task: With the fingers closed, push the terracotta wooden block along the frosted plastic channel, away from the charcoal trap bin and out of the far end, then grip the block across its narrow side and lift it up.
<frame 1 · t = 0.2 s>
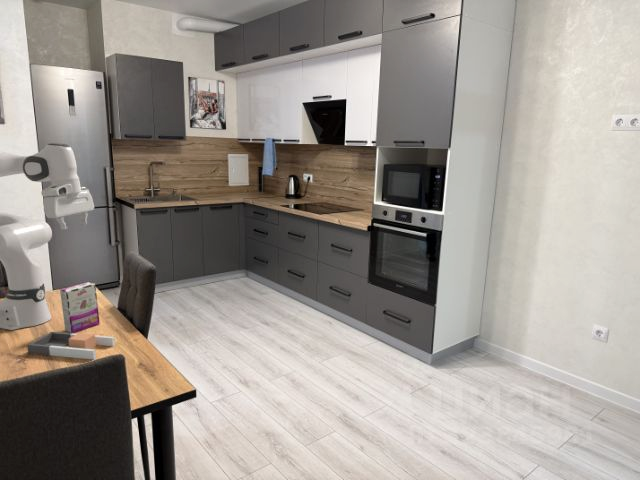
hand: (74, 226, 163), 39 cm above the table, tool pointing down, fingers open, 8 cm apart
candy bar box: (82, 328, 170), on the table
trap bin: (51, 347, 153), on the table
channel: (83, 350, 151), on the table
block: (83, 350, 151), on the table
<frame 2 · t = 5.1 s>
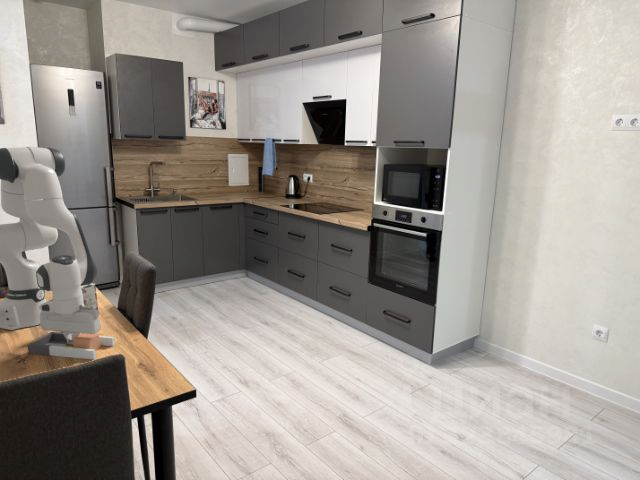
hand: (72, 343, 151), 2 cm above the table, tool pointing down, fingers closed
block: (87, 350, 151), on the table, touching gripper
everything else where it was.
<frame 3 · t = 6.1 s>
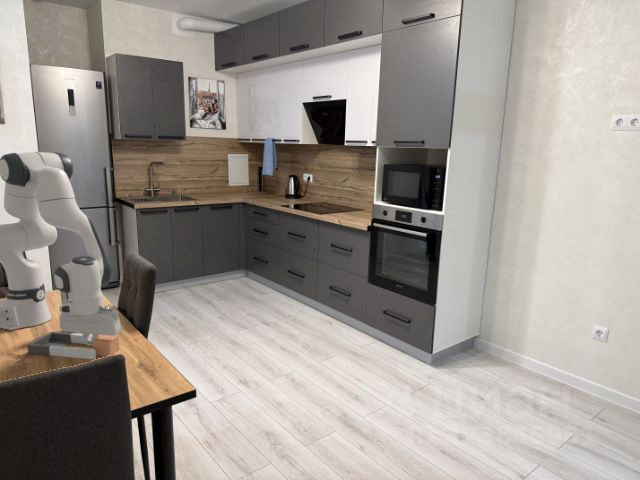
hand: (92, 344, 150), 2 cm above the table, tool pointing down, fingers closed
block: (106, 352, 150), on the table, touching gripper
everything else where it was.
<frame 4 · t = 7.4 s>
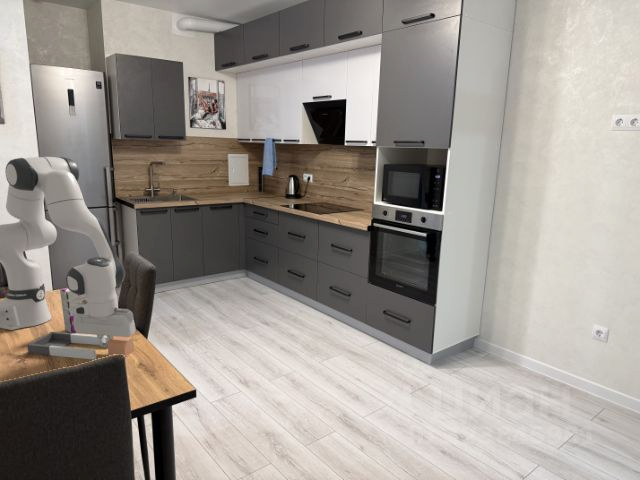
hand: (106, 346, 149), 2 cm above the table, tool pointing down, fingers closed
block: (121, 353, 149), on the table, touching gripper
everything else where it was.
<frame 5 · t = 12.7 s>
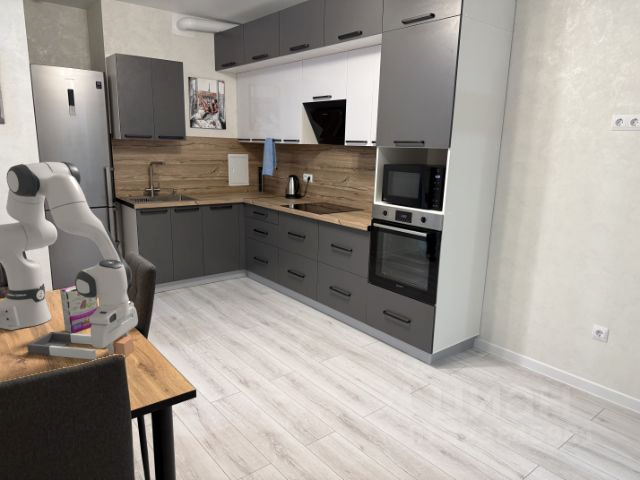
hand: (118, 348, 149), 2 cm above the table, tool pointing down, fingers closed on block, 5 cm apart
block: (121, 353, 149), on the table, touching gripper
everything else where it was.
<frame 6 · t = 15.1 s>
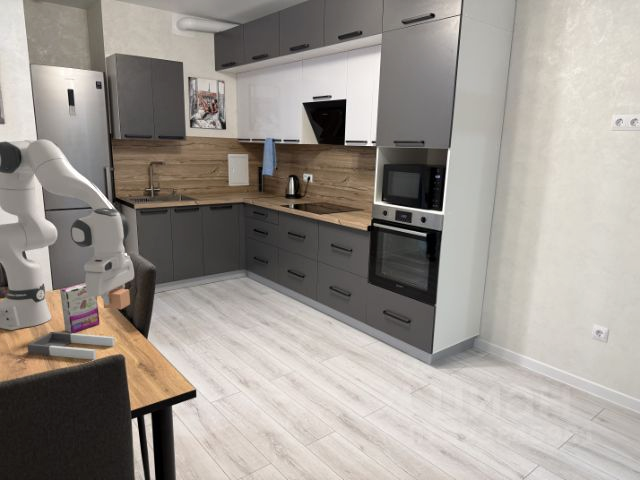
hand: (113, 300, 145), 18 cm above the table, tool pointing down, fingers closed on block, 5 cm apart
block: (117, 305, 146), point 17 cm above the table, touching gripper
everything else where it was.
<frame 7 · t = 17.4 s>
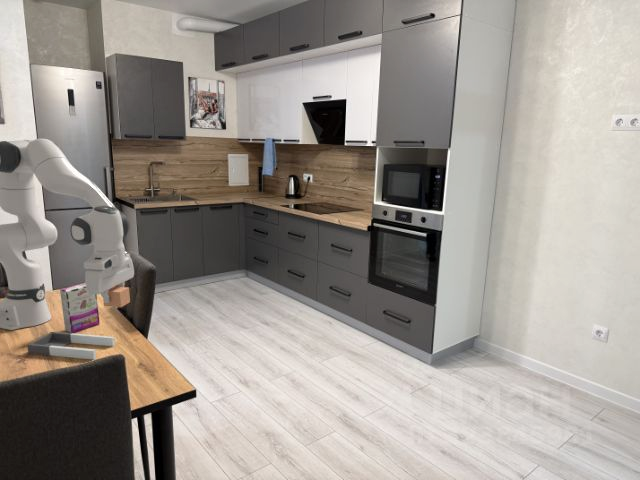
hand: (113, 299, 145), 19 cm above the table, tool pointing down, fingers closed on block, 5 cm apart
block: (117, 304, 145), point 17 cm above the table, touching gripper
everything else where it was.
at the end: block inside the target area (0.6 cm from its centre), point 17.4 cm above the table; the gripper is holding block; block touching gripper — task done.
